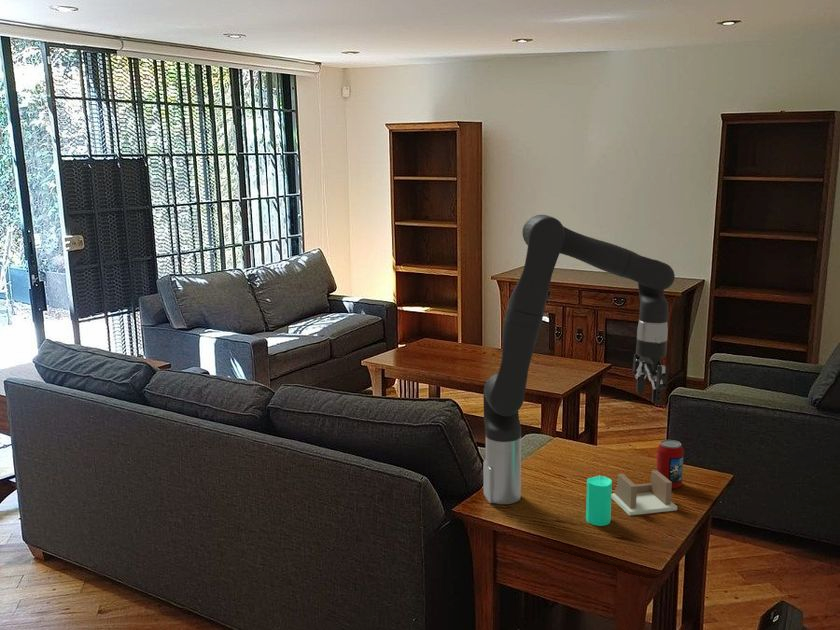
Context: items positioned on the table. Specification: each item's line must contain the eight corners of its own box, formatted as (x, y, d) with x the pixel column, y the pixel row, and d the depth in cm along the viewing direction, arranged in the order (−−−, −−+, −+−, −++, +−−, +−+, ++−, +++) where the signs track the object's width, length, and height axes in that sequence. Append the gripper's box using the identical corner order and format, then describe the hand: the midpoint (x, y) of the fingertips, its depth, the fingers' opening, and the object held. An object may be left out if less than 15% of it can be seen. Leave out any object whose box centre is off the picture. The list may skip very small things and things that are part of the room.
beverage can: (678, 492, 213) (680, 449, 210) (652, 486, 216) (654, 445, 214) (684, 482, 218) (686, 441, 216) (659, 477, 222) (661, 437, 219)
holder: (629, 515, 200) (630, 489, 198) (610, 497, 210) (611, 472, 209) (677, 510, 202) (678, 484, 201) (656, 492, 213) (657, 467, 211)
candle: (608, 515, 200) (610, 470, 198) (612, 526, 194) (613, 480, 192) (584, 514, 201) (585, 469, 198) (587, 525, 195) (588, 479, 193)
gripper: (626, 332, 212) (622, 390, 216) (652, 344, 199) (648, 407, 202) (651, 330, 214) (648, 388, 217) (679, 343, 200) (675, 405, 203)
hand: (648, 397), depth 209 cm, fingers open, 8 cm apart
